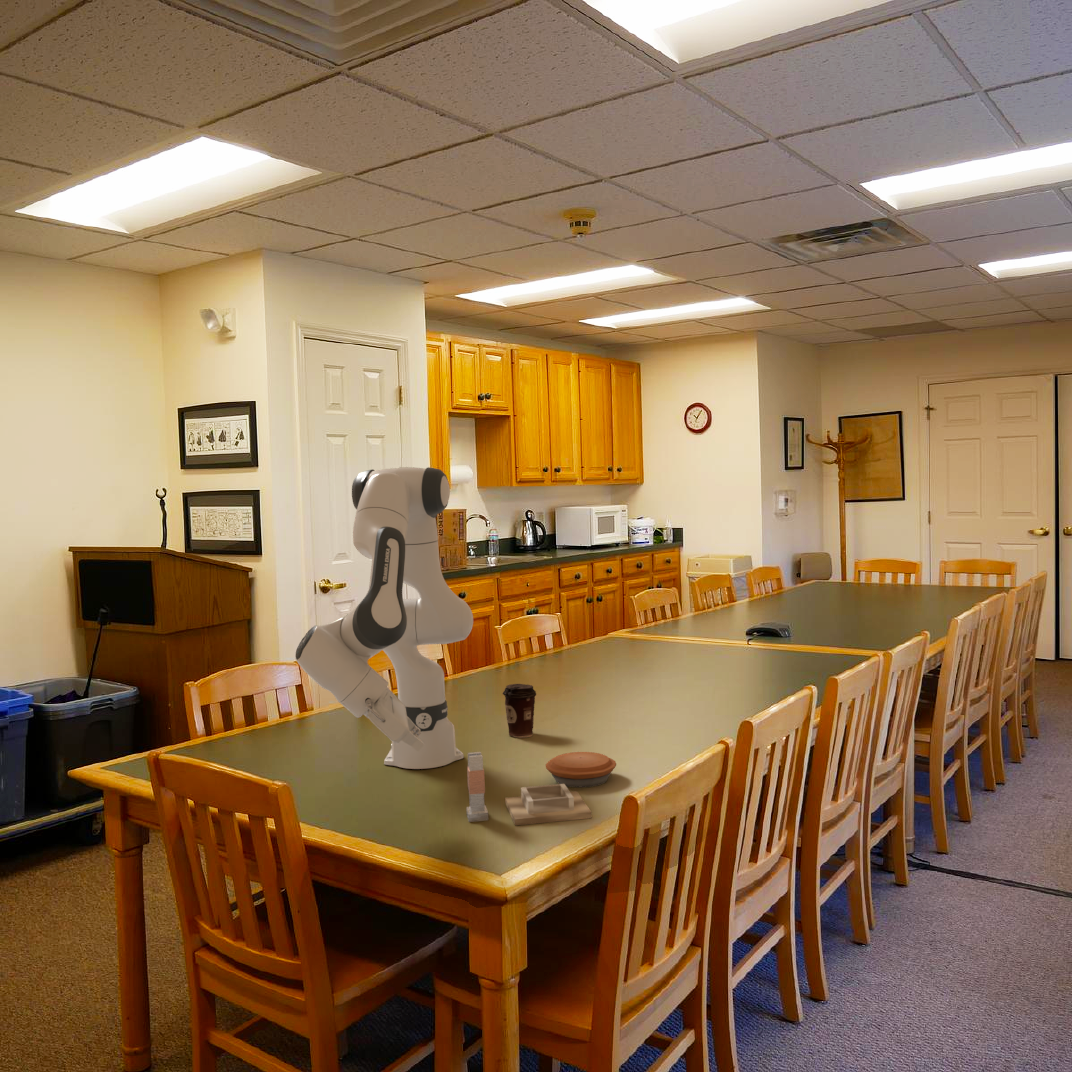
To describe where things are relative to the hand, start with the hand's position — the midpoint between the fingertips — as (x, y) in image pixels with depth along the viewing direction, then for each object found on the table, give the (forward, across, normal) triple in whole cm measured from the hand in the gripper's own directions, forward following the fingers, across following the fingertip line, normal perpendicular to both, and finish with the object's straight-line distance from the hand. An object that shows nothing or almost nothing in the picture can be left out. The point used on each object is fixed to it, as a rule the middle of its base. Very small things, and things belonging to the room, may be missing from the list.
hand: (419, 741), depth 184 cm
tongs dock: (+29, 0, -6) cm, 29 cm away
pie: (+37, +18, -14) cm, 43 cm away
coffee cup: (+32, +59, -9) cm, 68 cm away
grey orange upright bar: (+19, 0, +4) cm, 19 cm away
